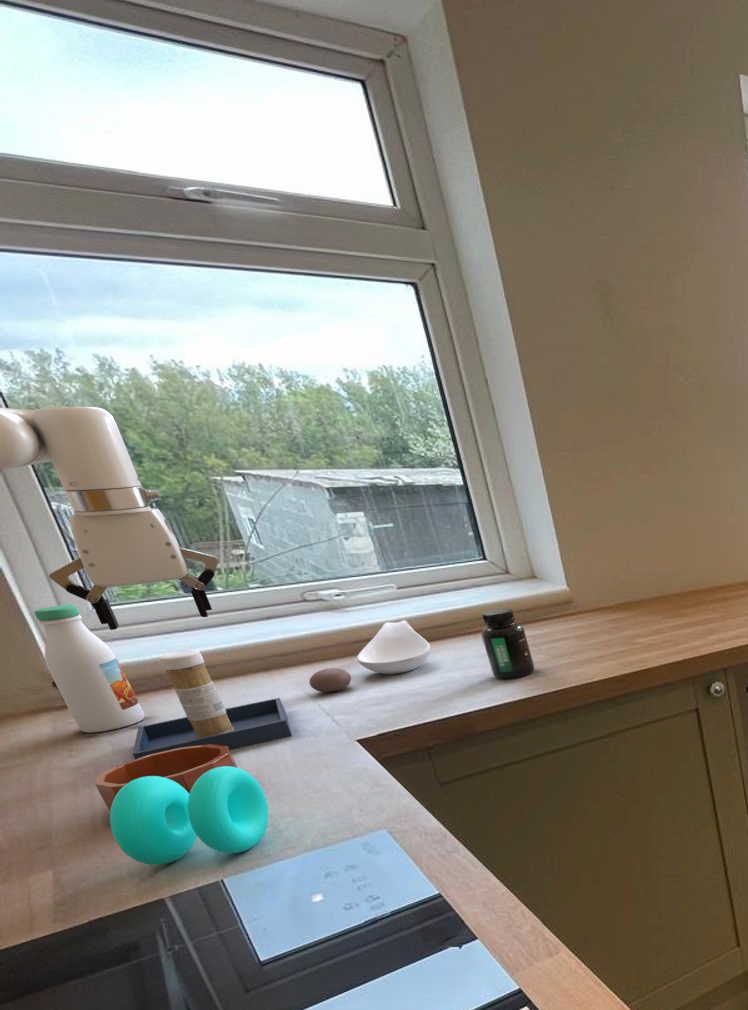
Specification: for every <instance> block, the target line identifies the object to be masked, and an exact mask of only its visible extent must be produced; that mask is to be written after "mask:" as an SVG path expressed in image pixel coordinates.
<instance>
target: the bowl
mask: <svg viewBox="0 0 748 1010" xmlns="http://www.w3.org/2000/svg"><path fill="white" fill-rule="evenodd" d="M232 754H233V753H232V751H231V750H229V747H228V746H221V745H213V744H209V745H200V746H190V747H182V748H177V749H173V750H168V751H164V752H159V753H155V754H150V755H147V756H144V757H141V758H138V759H135V758H134V759H132V760H129V761H126V762H123V763H119V764H117V765H116V766H114V767H111V768H110V769H108V770H106V771H104V772H103V773H101V774H99V775H97V777H96V780H95V787H96V789H97V791H98V793H99V794H100V796H101V798H102V800H103V802H104V804H105V806H106V807H107V809H108V811H109V812H110V811H111V806H112V803H113V800H114V798H115V797H116V795H117V793H118V792H119V791H120V789H121V788H122V787H123V786H125V785H126V784H127V783H129V782H131V781H132V780H135V779H138V778H141V777H146V776H159V777H164V778H167V779H170V780H172V781H174V782H176V783H178V784H179V785H181V786H182V787H183V788H184V789H185V790H186V791H187V792H188V793H189V794H190V791H191V789H192V787H193V785H194V784H195V782H196V781H197V779H198V778H199V777H200V776H202V775H203V774H204V773H205V772H207V771H209V770H211V769H214V768H217V767H223V766H230V767H236V768H239V767H238V765H237V763H236V761H235V759H234V756H233V755H232Z"/></svg>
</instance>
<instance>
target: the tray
mask: <svg viewBox="0 0 748 1010" xmlns="http://www.w3.org/2000/svg"><path fill="white" fill-rule="evenodd" d="M225 710H226V714H227V716H228V718H229V721H230V723H231V725H232V727H234V731H231V732H226V733H222V734H217V735H213V736H208V737H204V738H199V739H198V738H197V737H196V733H195V731H194V729H193V727H192V724H191V723H190V720H189V719H188V718H187V716H183V717H179V718H174V719H170V720H165V721H160V722H155V723H150V724H146V725H139V726H138V728H137V732H136V738H135V741H134V746H133V751H132V757H133V758H134V760H135V759H138V758H141V757H144V756H147V755H150V754H155V753H159V752H164V751H168V750H173V749H177V748H182V747H190V746H200V745H209V744H213V745H221V746H228V747H229V750H230V751H231V750H235V749H240V748H244V747H248V746H253V745H257V744H261V743H266V742H270V741H274V740H279V739H283V738H288V737H291V736H293V734H292V731H291V727H290V723H289V720H288V715H287V712H286V709H285V707H284V704H283V702H282V700H281V698H280V697H275V698H271V699H266V700H262V701H261V700H260V701H256V702H252V703H247V704H242V705H237V706H233V707H227V708H225Z"/></svg>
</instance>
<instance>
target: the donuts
mask: <svg viewBox="0 0 748 1010" xmlns="http://www.w3.org/2000/svg"><path fill="white" fill-rule="evenodd" d="M109 823H110V829H111V832H112V835H113V838H114V840H115V842H116V844H117V845H118V847H119V848H120V849H121V850H122V851H123V852H124V853H125V854H126V856H128V857H130V858H131V859H132V860H133V861H136V862H138V863H141V864H145V865H149V866H150V865H151V866H160V865H166V864H170V863H173V862H175V861H177V860H179V859H181V858H182V857H184V856H185V855H186V854H187V853H188V852H189V851H190V849H191V848H192V847H193V845H194V844H195V842H196V841H197V838H198V839H199V840H200V841H201V842H202V843H203V844H204V845H206V846H207V847H208V848H210V849H212V850H215V851H217V852H219V853H224V854H238V853H243V852H245V851H248V850H250V849H252V848H253V847H255V846H256V845H257V844H258V843H259V842H260V841H261V840H262V838H263V837H264V834H265V832H266V830H267V827H268V823H269V807H268V801H267V798H266V796H265V792H264V790H263V788H262V786H261V785H260V783H259V782H258V780H257V779H256V778H255V777H254V776H253V775H252V774H251V773H249V772H247V771H246V770H244V769H242V768H239V767H238V768H236V767H230V766H223V767H217V768H214V769H211V770H209V771H207V772H205V773H204V774H203V775H202V776H200V777H199V778H198V779H197V781H196V782H195V784H194V785H193V787H192V789H191V791H190V794H189V793H188V792H187V791H186V790H185V789H184V788H183V787H182V786H181V785H179V784H178V783H176V782H174V781H172V780H170V779H167V778H164V777H159V776H146V777H141V778H138V779H135V780H132V781H131V782H129V783H127V784H126V785H125V786H123V787H122V788H121V789H120V791H119V792H118V793H117V795H116V797H115V798H114V800H113V803H112V806H111V811H109Z"/></svg>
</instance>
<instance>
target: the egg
mask: <svg viewBox="0 0 748 1010" xmlns="http://www.w3.org/2000/svg"><path fill="white" fill-rule="evenodd" d="M351 681H352V676H351V674H350V673H349V672H348V671H347V670H345V669H342V668H338V667H337V668H335V667H329V668H324V669H321V670H319V671H318V670H317V672H315V673H313V674H312V675H311V677H310V678H309V682H308V683H309V686H310V687H311V688H312V689H313V690H315V691H318V692H320V693H321V692H322V693H334V692H338V691H341V690H343V689H345V688H346V687H348V686H349V685H350V683H351Z"/></svg>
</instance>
